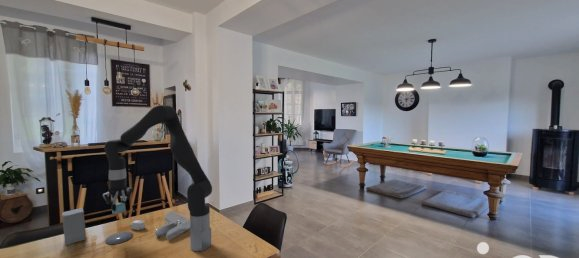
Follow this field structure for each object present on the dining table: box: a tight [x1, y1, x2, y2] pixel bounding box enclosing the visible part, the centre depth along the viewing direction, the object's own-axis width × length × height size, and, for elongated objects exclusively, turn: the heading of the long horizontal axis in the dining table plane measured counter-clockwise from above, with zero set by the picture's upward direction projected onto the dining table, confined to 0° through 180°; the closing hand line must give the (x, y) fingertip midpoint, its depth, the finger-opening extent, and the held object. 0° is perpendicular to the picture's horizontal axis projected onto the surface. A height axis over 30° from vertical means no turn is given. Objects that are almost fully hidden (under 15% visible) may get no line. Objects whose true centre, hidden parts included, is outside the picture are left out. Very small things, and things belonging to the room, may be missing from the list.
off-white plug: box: [129, 219, 146, 231], centre depth 139 cm, size 9×3×4 cm, turn 80°
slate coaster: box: [104, 231, 134, 245], centre depth 128 cm, size 12×12×1 cm
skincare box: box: [61, 207, 87, 246], centre depth 125 cm, size 8×7×16 cm
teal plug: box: [111, 202, 127, 215], centre depth 127 cm, size 10×4×4 cm, turn 59°
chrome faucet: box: [154, 210, 190, 241], centre depth 136 cm, size 18×7×20 cm
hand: (118, 209), depth 127 cm, fingers closed on teal plug, 3 cm apart
